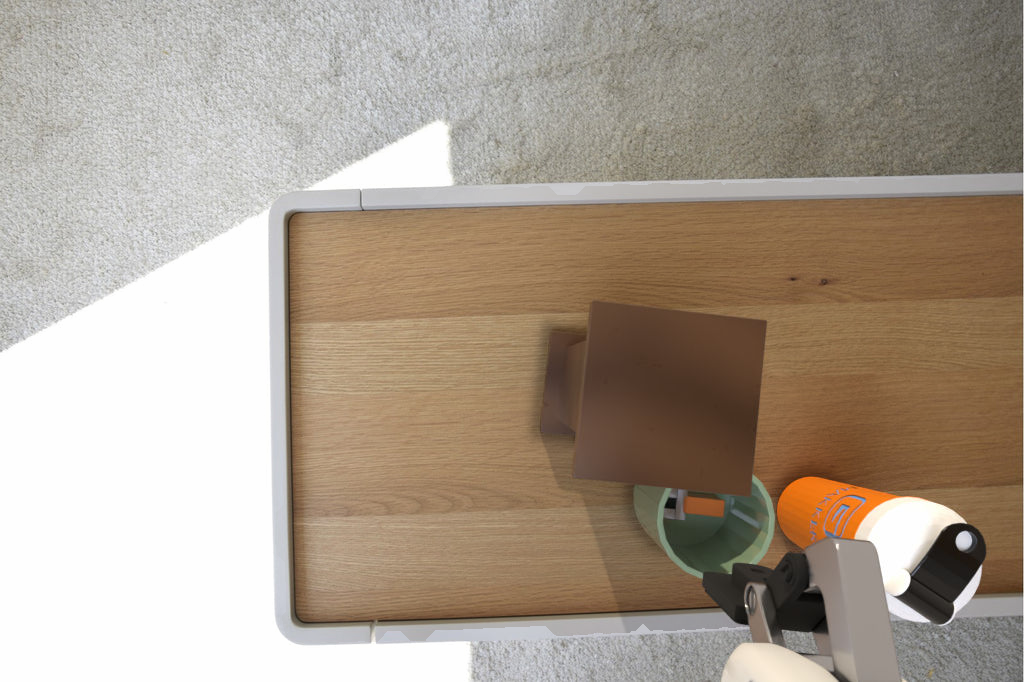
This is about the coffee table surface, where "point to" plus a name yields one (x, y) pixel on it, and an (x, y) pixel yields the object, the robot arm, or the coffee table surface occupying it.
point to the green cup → (709, 529)
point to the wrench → (692, 504)
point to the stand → (658, 397)
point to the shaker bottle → (893, 542)
